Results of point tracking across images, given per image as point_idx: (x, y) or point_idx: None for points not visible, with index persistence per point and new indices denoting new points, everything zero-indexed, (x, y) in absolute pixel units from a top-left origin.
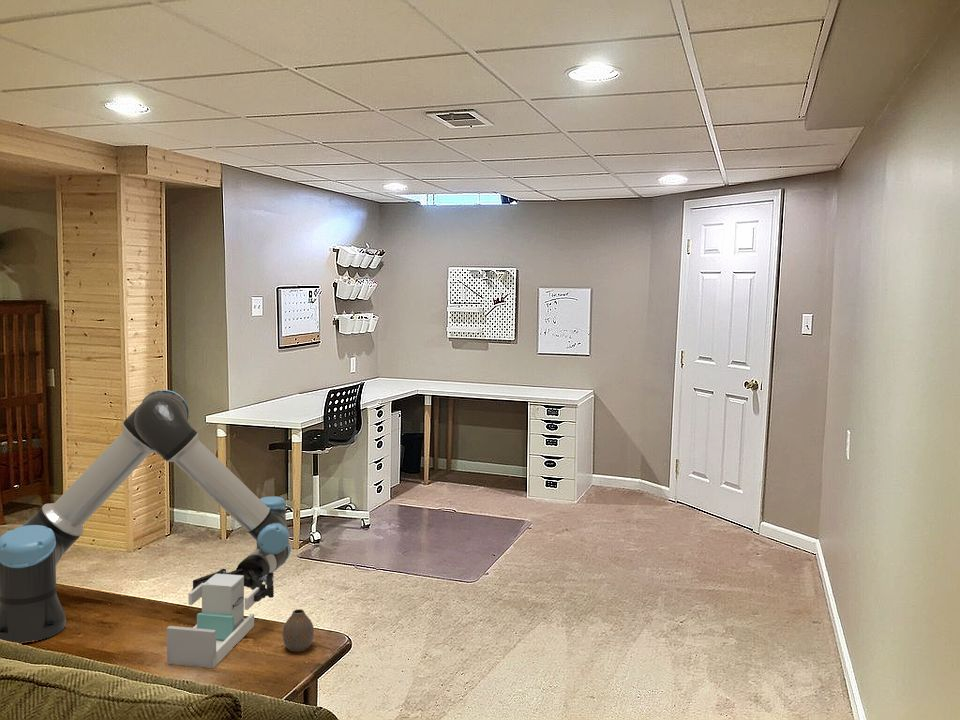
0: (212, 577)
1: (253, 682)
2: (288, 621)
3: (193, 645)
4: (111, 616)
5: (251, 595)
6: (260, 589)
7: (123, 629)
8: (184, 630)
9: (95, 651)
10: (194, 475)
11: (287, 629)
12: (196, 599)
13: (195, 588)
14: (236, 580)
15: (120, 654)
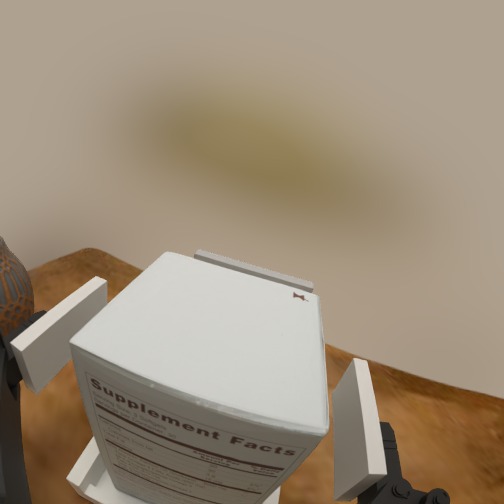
0: (313, 358)
1: (119, 273)
2: (16, 263)
3: None
4: None
5: (72, 296)
6: (7, 353)
7: (462, 469)
8: (268, 271)
9: (434, 392)
10: None
11: (26, 271)
12: (336, 422)
13: (373, 406)
14: (135, 287)
15: (392, 385)
